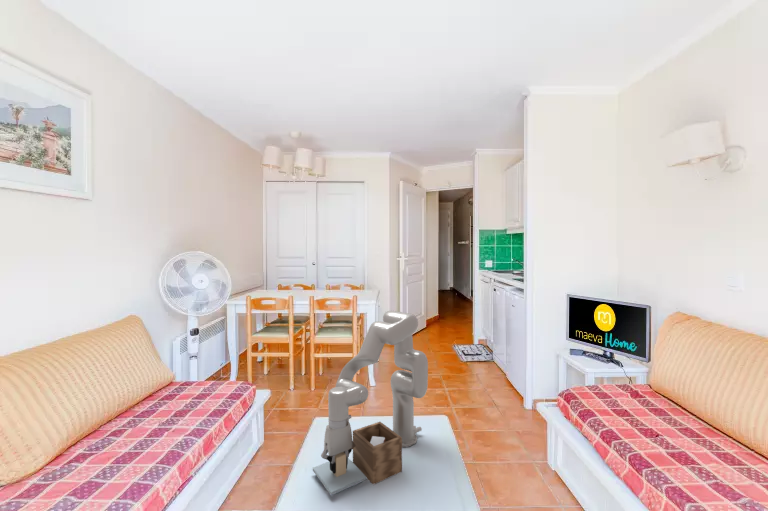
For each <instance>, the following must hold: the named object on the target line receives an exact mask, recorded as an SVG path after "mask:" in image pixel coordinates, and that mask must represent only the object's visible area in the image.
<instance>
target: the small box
mask: <svg viewBox="0 0 768 511" xmlns="http://www.w3.org/2000/svg"><path fill="white" fill-rule="evenodd" d="M384 442H385V437H376V436H372V439H371V441H370V443H371V444H372V445H373V446H376V445H379V444H381V443H384Z"/></svg>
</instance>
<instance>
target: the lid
mask: <svg viewBox="0 0 768 511" xmlns="http://www.w3.org/2000/svg"><path fill="white" fill-rule="evenodd" d="M335 463H336V473H335V474H334V473H333V472H332V471H331V470H330V462H329V461H327V462H324V463H322V464H319V465H316V466H314V467H312V472H313V473H314V474H315V476H316V477H317V479H318V480H319V482H321V484H322V485H323V486H324V488H325V490H327V492H328V494H329V495H331V496H334V495H335V494H337V493H340V492H341V491H344V490H346V489H348V488H350V487H353V486H356V485H357V484H359V483H362V482H365V481H367V478H366V476H365V475H364V474H363V473H362V472H361V471H360V470H359V469H358V467H357V466H356V465H355V464H354V463H353V460H351V459H350V457H348V464H347V469H346V454H345V453H344V452H341V453H339V454H336V455H335Z"/></svg>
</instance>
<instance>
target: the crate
mask: <svg viewBox="0 0 768 511" xmlns="http://www.w3.org/2000/svg"><path fill="white" fill-rule="evenodd" d="M372 436H376V437H385V442H384V443H381V444H379V445H376V446H373V445H372V444H371V443H370V441H371V439H372ZM352 441H353V442H354V443H355V445H356V446H355V447H354V448H353V449H352V462H353V463H354V464H355V465H356V466H357V467H358V469H359V470H360V471H361V472H362V473H363V474H364V475H365V476H366V480H368V481H369V482H370V483H371V484H372V485H373V486H374V485H375V484H378V483H380V482H383V481H385V480H386V479H389V478H391V477H393V476H396V475H397V474H400V473H402V472H403V447H402V437H400V436H399V435H398V434H396V433H395V432H394V431H393V429H391V428H390V427H388V426H387V425H385V423H383V422H381V421H377V422H374V423H372V424H368V425H365V426H363V427H360V428H357V429H354V430H352Z"/></svg>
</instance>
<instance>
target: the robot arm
mask: <svg viewBox="0 0 768 511" xmlns="http://www.w3.org/2000/svg"><path fill="white" fill-rule="evenodd" d="M418 327H419V319H418V318H417V316H416V315H414V314H412V313H407V312H402V311H398V310H388V311H385V312H384V313H383V316H382V321H379V320H377V321H374V322H372V323H371V324H370V326H369V327H368V330H367V333H366V335H365V336H364V340H363V342H362V344H361V347H360V349H359V351H358V352H357V354H355V356H353V358H351V359H350V360H349V361H348V362H347V363H345V365H344V366H343V367H342V369H341V371H340V373H339V376H338V378H337V381H336V383H335V386H334V387H332V388H330V389H329V391H328V397H327V398H328V399H327V400H328V402H327V403H328V404H327V406H328V408H327V409H328V424H327V425H326V427H325V431H324V439H323V442H324V443H323V451H322V453H321V455H320V456H321V458H322V459H324V460H326V461H327V462H330V470H331V471H332V472H333V473H334V474H335V473H336V463H335V455H336V454H339V453H341V452H344V453H345V454H346V469H347V464H348V458H350V454H351V452H353V448H354V447H355V446H356V445H355V443H354V442H353V431H352V427H351V423H350V419H352V415H351V414H349V407H353V406H359V405H361V404H363V403H364V402H366V400H367V399H368V397H369V391H368V387H366V386H365V385H363V384H360V383H359V382H356V381H354V377H355V375H356V374H357V373H358V372H359V370H361V369H363V368H365V367H368V366H370V365H371V366H372V365H374V364H375V365H376V363H378V361H379V358H380V356H381V353H382V351H383V349H384V346H385V344H386V345H390V346H394V347H393V349H394V351H393V354H394V356H393V357H394V358H393V360H394V361H393V362H394V364H395V365H394V366H396V367H397V368H399V369H398V370H395V371H394V372H393V373H392V374H391V376H390V388H391V391H392V392H391V393H392V431H394V432H395V433H396V434H398V435H399V436H400V437H402V448H409V447H411V446H414V445H415V444H416V443H417V441H418V436H417V435H416V434H417V433H419V432H422V430H423V428H422V427H421V426H416V425H415V424H414V418H415V417H414V416H415V414H414V410H415V409H414V407H415V406H414V404H415V402H414V398H416V399H422V398H423V397H425V395H426V393H427V390H428V384H429V383H428V382H429V380H428V379H429V378H428V376H429V362H428V361H429V360H428V357H427V355H426V353H424V352H423V351H421V350H417V349H414V340H413V334H414V333H415V332H416V330H417V329H418Z"/></svg>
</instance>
